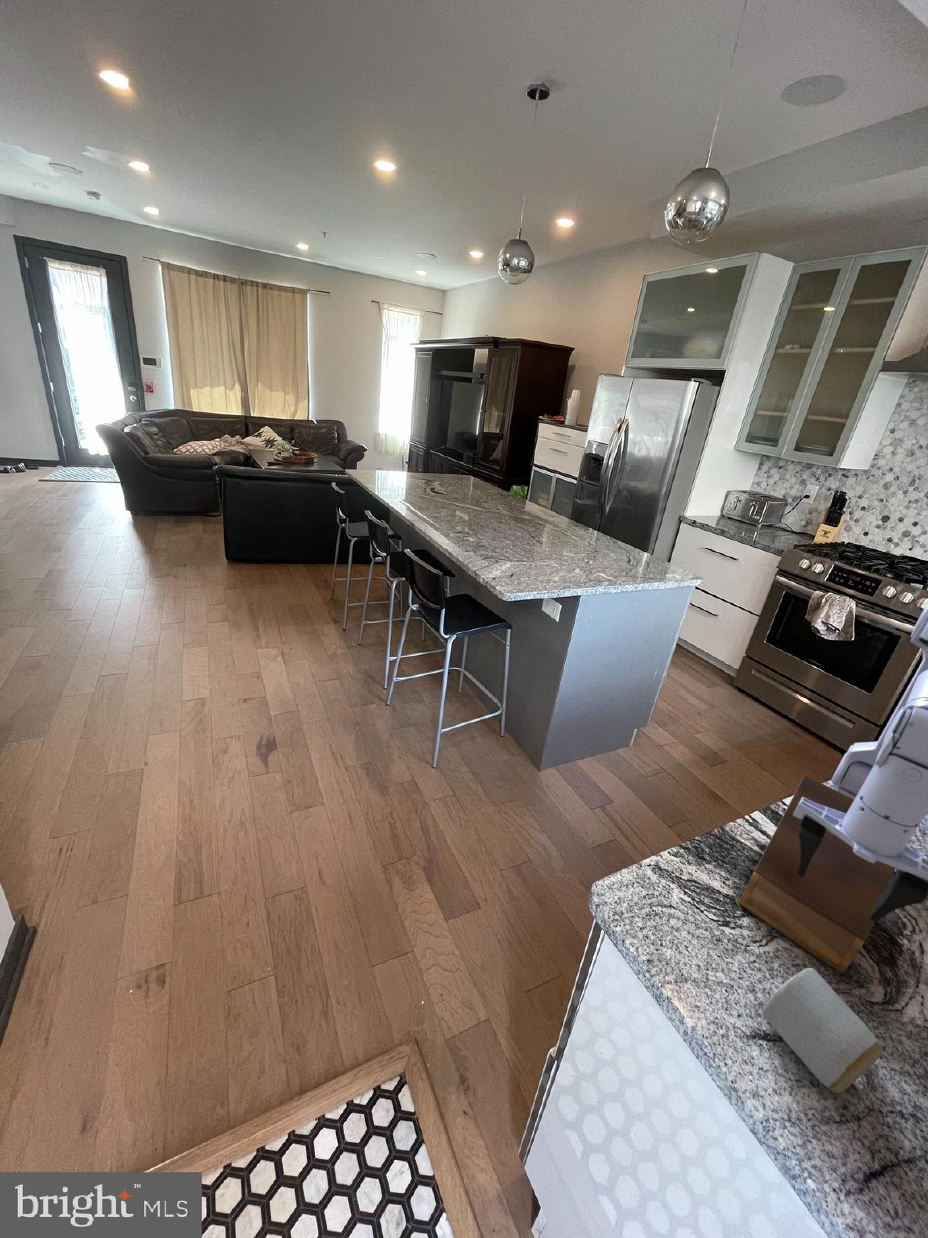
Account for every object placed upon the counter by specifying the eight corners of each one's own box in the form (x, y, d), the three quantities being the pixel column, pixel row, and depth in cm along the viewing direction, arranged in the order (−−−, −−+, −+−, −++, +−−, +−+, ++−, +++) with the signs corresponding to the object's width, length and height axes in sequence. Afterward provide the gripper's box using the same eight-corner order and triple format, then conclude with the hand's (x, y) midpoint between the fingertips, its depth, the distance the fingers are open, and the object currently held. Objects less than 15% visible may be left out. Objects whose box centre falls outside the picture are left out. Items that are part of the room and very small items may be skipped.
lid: (803, 776, 74) (804, 774, 74) (910, 829, 67) (911, 827, 66) (754, 872, 68) (754, 870, 68) (864, 942, 61) (866, 940, 60)
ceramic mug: (826, 1112, 49) (862, 1067, 46) (751, 1024, 56) (778, 979, 53) (880, 1063, 54) (916, 1020, 51) (805, 988, 61) (833, 945, 58)
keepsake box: (767, 847, 81) (781, 819, 79) (860, 902, 74) (878, 873, 72) (738, 903, 70) (753, 873, 68) (842, 974, 63) (863, 943, 61)
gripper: (808, 785, 58) (763, 870, 63) (974, 869, 49) (907, 960, 54) (820, 761, 63) (778, 842, 68) (973, 834, 54) (911, 921, 59)
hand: (836, 893), depth 62 cm, fingers open, 7 cm apart
